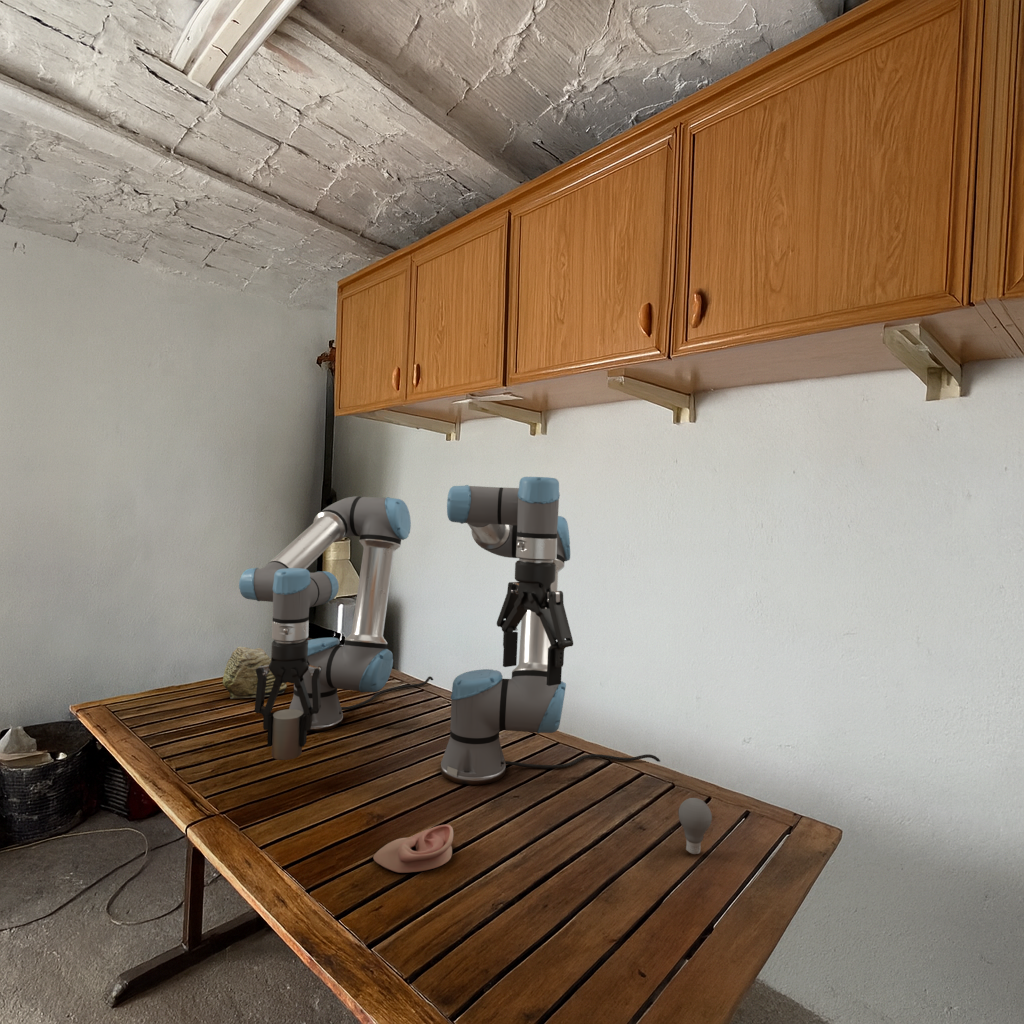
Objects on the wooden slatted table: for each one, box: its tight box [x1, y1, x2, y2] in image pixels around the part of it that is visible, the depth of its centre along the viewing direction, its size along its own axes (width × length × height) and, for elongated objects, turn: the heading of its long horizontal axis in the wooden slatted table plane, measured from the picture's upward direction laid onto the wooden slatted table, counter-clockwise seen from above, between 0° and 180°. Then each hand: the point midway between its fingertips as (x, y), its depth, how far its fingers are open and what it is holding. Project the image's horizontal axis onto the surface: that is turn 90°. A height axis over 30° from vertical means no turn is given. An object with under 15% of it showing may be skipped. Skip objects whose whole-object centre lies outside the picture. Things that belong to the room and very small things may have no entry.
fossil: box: [222, 646, 288, 699], centre depth 198 cm, size 9×18×15 cm, turn 132°
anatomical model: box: [372, 824, 455, 874], centre depth 113 cm, size 13×4×12 cm
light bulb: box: [677, 797, 713, 855], centre depth 118 cm, size 6×6×10 cm
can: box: [271, 708, 303, 761], centre depth 139 cm, size 6×6×9 cm
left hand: (287, 743), depth 139 cm, fingers closed on can, 6 cm apart
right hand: (530, 674), depth 117 cm, fingers open, 13 cm apart
